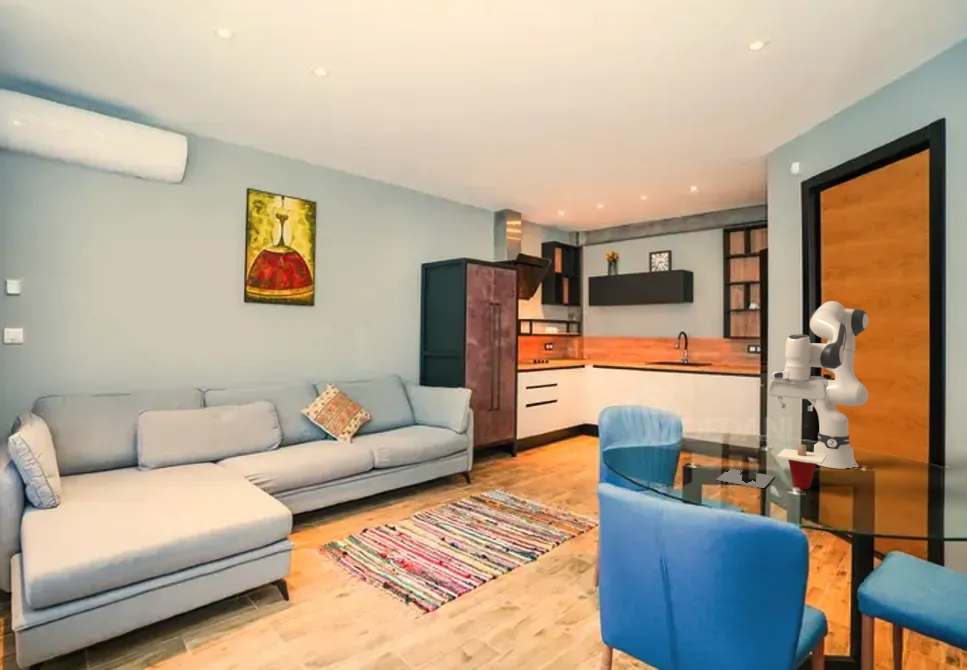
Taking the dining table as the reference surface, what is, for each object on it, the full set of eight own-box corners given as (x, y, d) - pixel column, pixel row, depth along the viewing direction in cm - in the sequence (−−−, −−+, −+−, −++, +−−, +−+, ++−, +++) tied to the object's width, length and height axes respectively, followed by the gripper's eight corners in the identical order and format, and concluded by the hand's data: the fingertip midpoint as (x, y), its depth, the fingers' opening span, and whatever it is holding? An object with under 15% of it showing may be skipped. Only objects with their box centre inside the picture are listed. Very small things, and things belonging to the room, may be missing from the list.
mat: (729, 469, 231) (729, 468, 231) (774, 477, 219) (774, 476, 219) (716, 480, 215) (716, 479, 215) (764, 489, 204) (764, 488, 204)
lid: (784, 450, 217) (784, 439, 217) (826, 456, 207) (826, 444, 207) (776, 457, 205) (777, 445, 205) (821, 464, 196) (821, 451, 196)
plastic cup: (823, 491, 200) (823, 461, 200) (792, 490, 202) (792, 460, 202) (811, 483, 211) (811, 454, 211) (782, 481, 213) (782, 453, 213)
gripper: (829, 376, 201) (828, 411, 201) (771, 373, 215) (770, 406, 215) (826, 377, 197) (825, 413, 197) (767, 373, 211) (766, 407, 211)
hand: (796, 409), depth 206 cm, fingers open, 8 cm apart
